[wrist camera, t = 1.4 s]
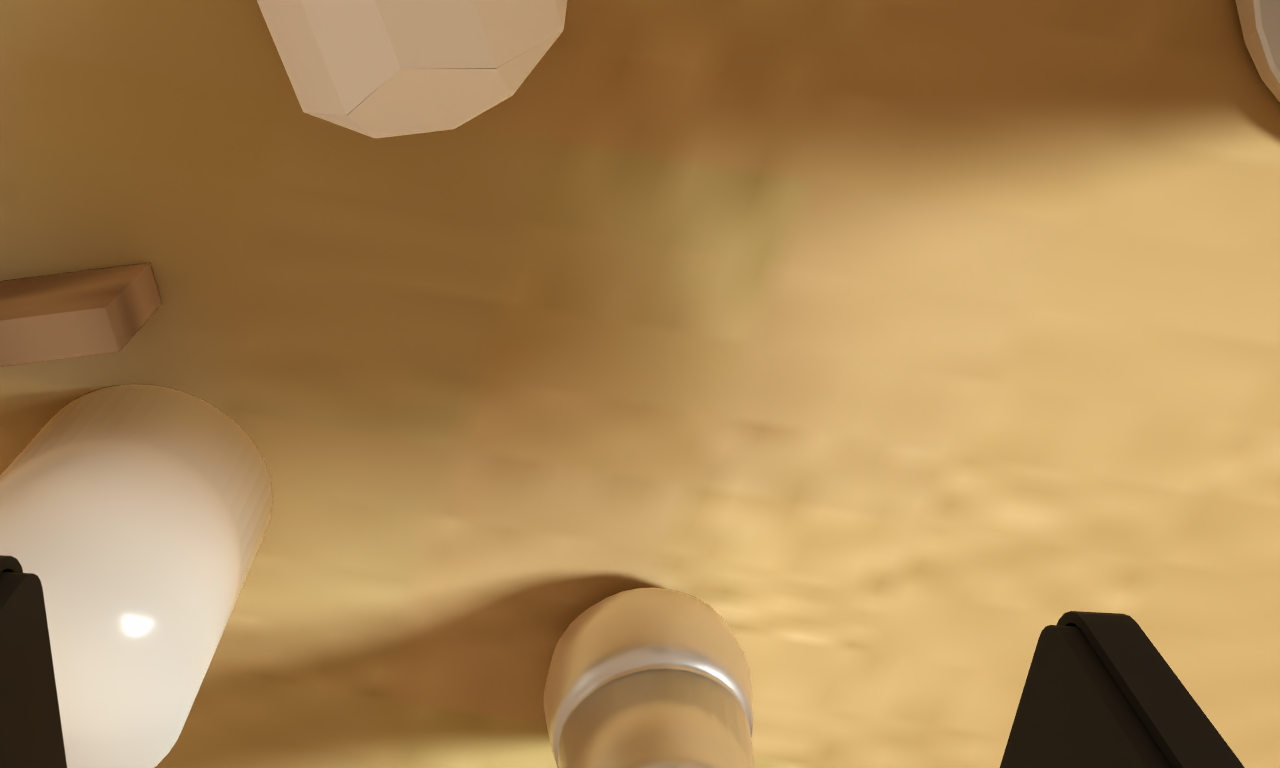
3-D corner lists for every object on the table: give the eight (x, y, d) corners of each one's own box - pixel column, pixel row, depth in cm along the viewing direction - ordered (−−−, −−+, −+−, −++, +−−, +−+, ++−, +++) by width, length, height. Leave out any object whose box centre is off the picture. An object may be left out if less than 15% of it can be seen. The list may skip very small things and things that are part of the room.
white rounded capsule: (240, 370, 33) (139, 536, 25) (296, 571, 36) (222, 779, 28) (-4, 400, 33) (-186, 578, 25) (73, 600, 36) (-68, 819, 28)
